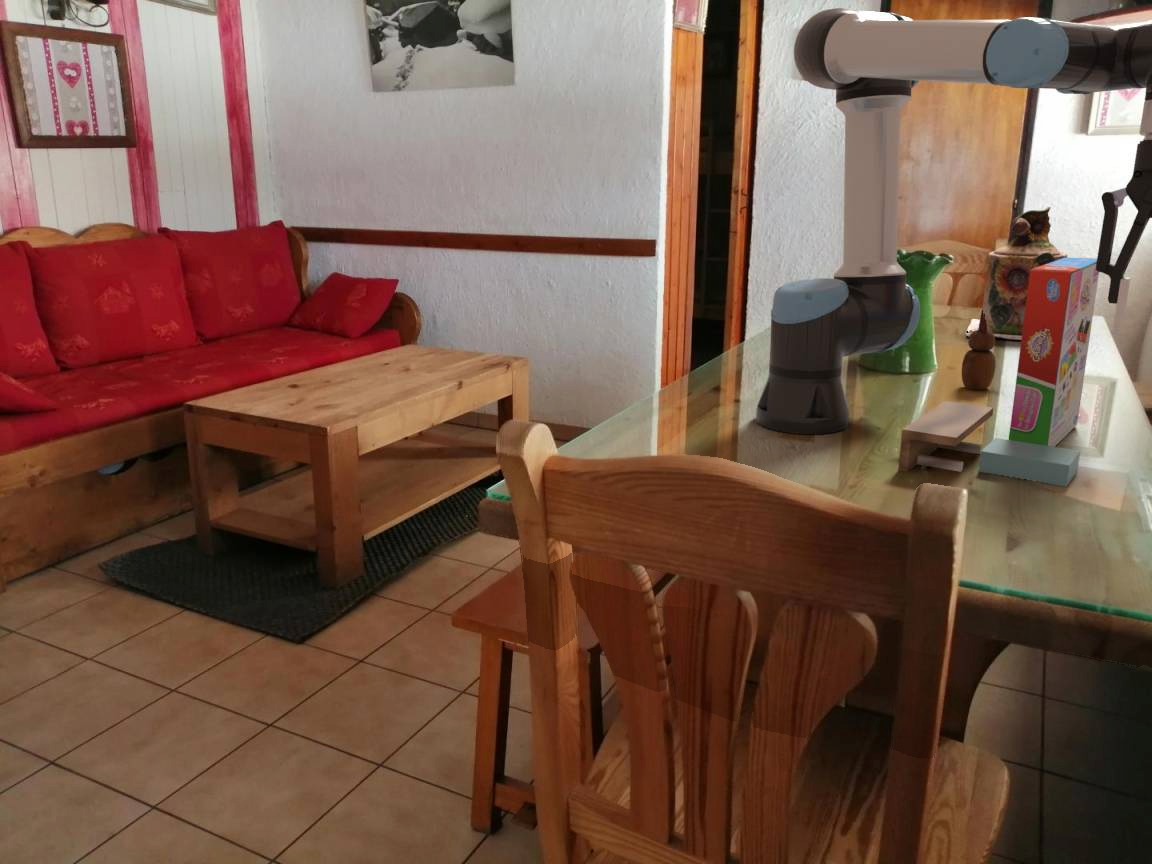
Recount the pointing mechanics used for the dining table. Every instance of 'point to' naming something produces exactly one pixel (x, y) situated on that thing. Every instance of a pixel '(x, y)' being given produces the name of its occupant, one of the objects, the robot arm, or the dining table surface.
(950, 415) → the overhang
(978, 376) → the wooden figurine
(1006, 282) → the cookie jar
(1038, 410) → the game box
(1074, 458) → the slate blue rectangular box
